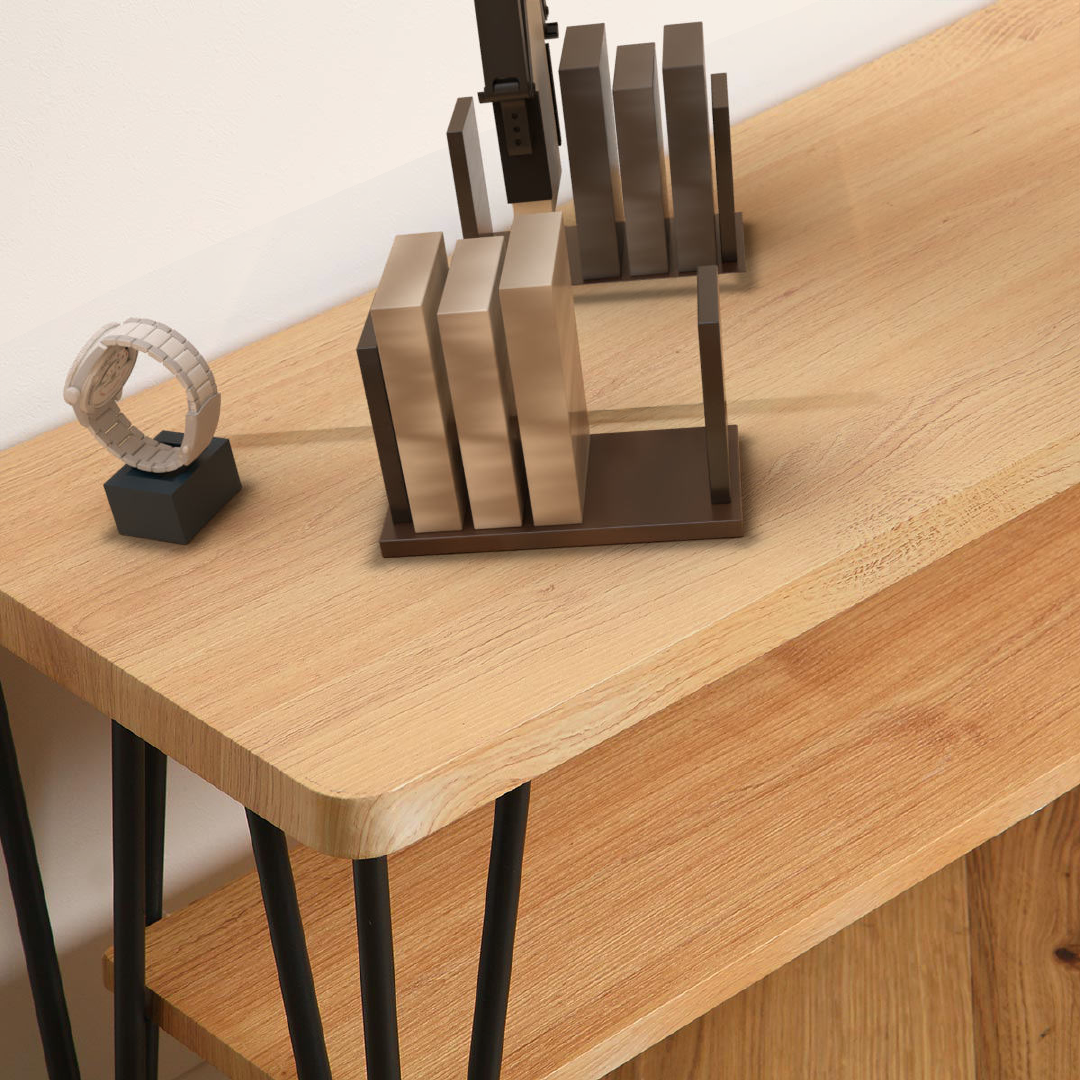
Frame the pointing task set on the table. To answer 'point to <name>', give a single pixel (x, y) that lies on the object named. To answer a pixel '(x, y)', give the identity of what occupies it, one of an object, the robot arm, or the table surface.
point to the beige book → (542, 111)
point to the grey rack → (629, 161)
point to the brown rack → (525, 409)
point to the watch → (171, 457)
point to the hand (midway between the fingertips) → (535, 171)
